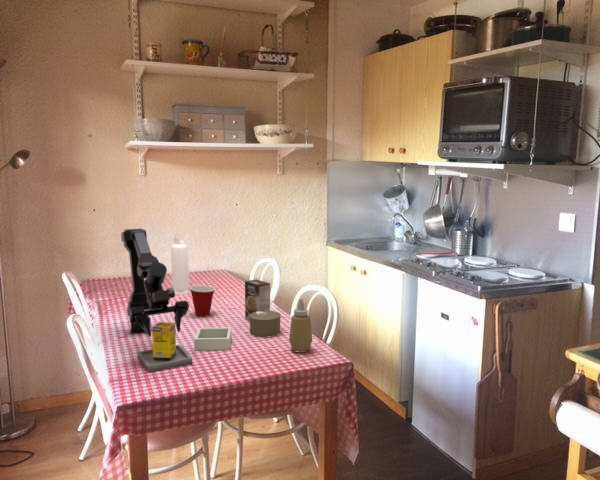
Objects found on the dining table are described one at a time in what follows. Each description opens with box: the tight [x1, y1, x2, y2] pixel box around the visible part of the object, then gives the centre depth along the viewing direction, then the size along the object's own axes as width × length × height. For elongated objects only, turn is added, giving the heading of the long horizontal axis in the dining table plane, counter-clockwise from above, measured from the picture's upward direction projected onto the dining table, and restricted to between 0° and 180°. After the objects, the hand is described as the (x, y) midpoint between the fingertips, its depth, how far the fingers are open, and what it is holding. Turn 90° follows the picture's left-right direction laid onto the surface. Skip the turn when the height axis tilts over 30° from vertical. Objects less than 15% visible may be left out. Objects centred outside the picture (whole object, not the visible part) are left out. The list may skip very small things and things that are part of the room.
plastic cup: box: [189, 284, 216, 318], centre depth 219 cm, size 11×11×12 cm
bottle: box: [170, 235, 190, 296], centre depth 254 cm, size 8×8×28 cm
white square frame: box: [194, 327, 232, 351], centre depth 185 cm, size 12×12×4 cm
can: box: [249, 310, 282, 338], centre depth 198 cm, size 12×12×7 cm
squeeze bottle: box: [288, 298, 313, 353], centre depth 178 cm, size 8×8×18 cm
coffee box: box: [244, 278, 271, 322], centre depth 212 cm, size 9×6×16 cm
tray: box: [137, 344, 193, 373], centre depth 169 cm, size 14×14×2 cm
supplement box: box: [151, 321, 177, 360], centre depth 169 cm, size 6×6×11 cm
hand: (164, 334), depth 167 cm, fingers open, 9 cm apart
